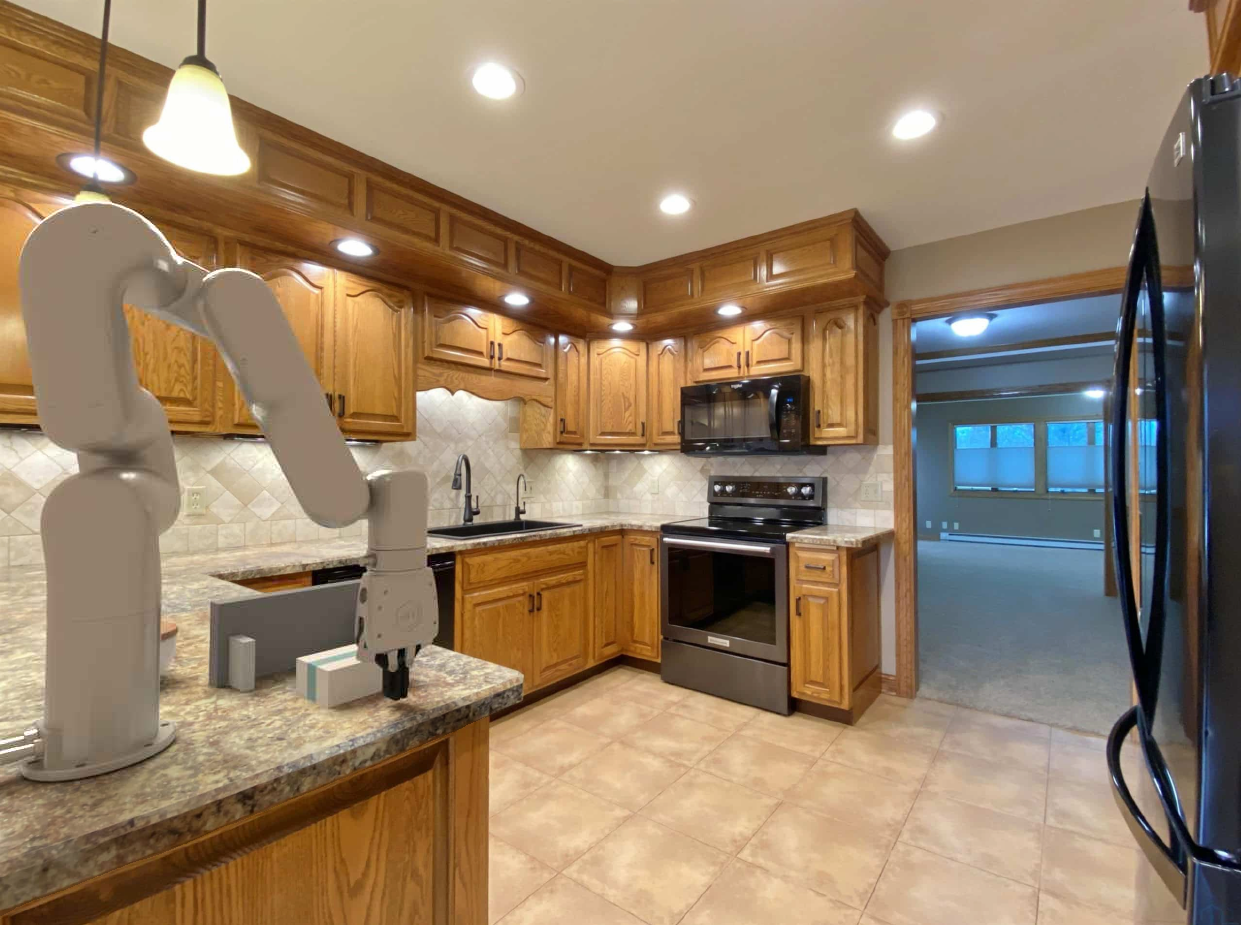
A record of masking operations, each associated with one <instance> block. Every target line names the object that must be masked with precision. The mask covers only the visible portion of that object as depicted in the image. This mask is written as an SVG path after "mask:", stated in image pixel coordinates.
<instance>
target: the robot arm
mask: <svg viewBox="0 0 1241 925" xmlns="http://www.w3.org/2000/svg"><path fill="white" fill-rule="evenodd" d="M17 284H18V285H17V286H18V288H17V289H18V295H19V302H20V308H21V313H22V319H23V323H24V331H25V336H26V345H27V346H26V347H27V348H26V349H27V356H28V360H29V362H28V363H29V366H30V375H31V379H32V380H31V381H32V386H33V391H34V398H35V407H36V414H37V420H38V425H39V428H40V429H41V430H42V432H43V435H44V436H45V437H46V438H47V439H48V440H49V441H50V442H51V444H52V443H53V444H54V445H55V446H56V447H58V448H60V449H62V450H65V451H68V452H71V453H74V454H75V455H76V459H77V466H78V470H79V472H77V473H75V474H72V475H70V476H67V477H66V478H65V479H63V480H62V481H60V483H59V484H57V485H56V486H55V487H54V488H53V489H52V490H51V491H50V493H49V495H48V496H47V498H46V499H45V501H44V503H43V505H42V506H43V507H42V509H41V513H40V519H39V520H40V521H39V522H40V524H39V525H40V526H39V530H40V531H39V532H40V538H41V543H42V544H41V545H42V550H43V557H44V563H45V564H44V565H45V580H46V604H45V605H46V606H45V608H46V610H45V611H46V612H45V613H46V614H45V619H46V628H45V629H46V631H45V633H46V635H45V638H46V639H45V668H44V670H45V672H44V699H43V700H44V701H43V702H44V703H43V704H44V705H43V706H44V708H43V709H44V710H43V718H39V719H36V720H34V728H32V729H29V730H23V731H22V733H21V735H20V736H16V737H12V738H8V739H0V767H3V766H5V765H10V764H13V763H17V762H19V761H21V766H20V767H21V768H20V769H21V770H20V771H21V775H22V776H23V777H24V778H26V779H29V780H31V781H39V782H61V781H70V780H78V779H83V778H88V777H94V776H97V775H102V774H106V773H109V772H112V771H116V770H119V769H123V768H126V767H129V766H132V765H133V764H136V763H139V762H141V761H144V760H147V758H150V757H152V756H154V755H156V754H158V753H159V752H161V751H163V750H164V749H166V748H167V747H169V745H171V743H172V742H173V741H174V740H175V738H176V730H177V728H176V725H175V723H173V722H172V721H170V720H167V719H162V718H160V693H161V688H160V687H161V676H160V656H161V622H162V607H163V605H162V593H163V592H162V591H163V590H162V587H163V586H162V585H163V582H162V580H163V579H162V562H161V552H160V551H161V550H160V537H161V536H162V535H163V534H164V533H167V531H168V530H170V529H171V527H173V525H174V524H175V522H176V521H177V520H178V519H177V518H178V517H179V515H180V511H181V507H182V500H181V499H182V498H181V497H182V496H181V489H180V481H179V476H178V469H177V464H176V457H175V451H174V445H173V438H172V433H171V427H170V422H169V419H168V416H167V413H166V411H165V409H164V407H163V405H162V404H161V402H160V400H158V399H157V397H155V396H154V395H153V394H152V393H151V392H150V391H148V390H147V389H146V388H144V387H142V386H141V384H140V381H139V377H138V373H137V368H136V365H135V358H134V354H133V341H132V337H131V331H130V328H129V324H128V321H127V317H126V315H125V314H126V312H125V310H124V309H125V308H124V303H125V304H127V305H130V306H132V307H133V308H135V309H137V310H139V311H141V312H144V313H146V314H147V315H150V316H153V317H155V318H158V319H161V320H162V321H166V322H167V323H170V324H172V325H174V326H177V327H179V328H181V329H183V330H186V331H188V332H190V333H193V334H195V335H197V336H200V337H202V338H205V339H207V340H210V341H211V342H213V344H214V345H215V346H214V347H215V348H216V351H218V353H219V354H220V357H221V358H222V361H223V362H224V364H225V367H226V368H227V370H228V371H229V374H230V375H231V376H230V377H231V378H232V379H233V382H234V383H235V385H236V387H237V389H238V391H239V393H240V395H241V397H242V399H243V401H244V404H245V405H246V407H247V408H248V411H249V414H250V415H251V417H252V419H253V420H254V422H255V424H256V425H257V426H258V429H260V430H261V433H262V435H263V437H264V438H265V439H266V442H267V444H268V446H269V447H270V449H271V452H272V454H273V456H274V458H275V460H276V461H277V464H278V465H279V468H280V469H281V471H282V472H283V474H284V478H286V480H287V483H288V485H289V486H290V488H291V490H292V492H293V494H294V496H295V497H296V499H297V501H298V504H299V505H300V507H301V509H302V511H303V513H304V514H305V516H307V518H309V520H310V521H311V522H312V523H315V524H316V525H318V526H320V527H323V528H326V529H333V530H334V529H343V528H346V527H350V526H352V525H354V524H356V523H358V521H362V520H367V549H366V554H365V555H361V556H359V558H358V566H360V567H365V569H366V572H363V573H362V577H361V579H362V580H361V584H360V588H359V593H358V599H357V606H356V616H355V643H356V645H357V646H358V650H357V654H356V660H358V661H360V662H363V663H364V662H375V663H376V664H377V665H378V666H379V667H380V668H382V669H383V670H382V691H381V692H383V697H384V698H386V699H389V700H391V701H394V702H397V701H400V700H401V699H407V698H408V695H409V694H408V693H409V687H410V668H411V667H412V666H413V665H414V661H415V658H416V656H417V655H418V654H419V652H420V651H421V650H424V648H427V647H428V646H430V645H431V644H433V642H434V639H435V638H436V637H437V635H438V633H439V605H438V593H437V586H436V585H437V584H436V579H435V575H434V572H433V568H432V567H429V566H428V518H429V516H428V511H429V510H428V508H429V507H428V506H429V505H428V504H429V502H428V500H429V481H428V477H427V474H426V473H425V472H423V471H421V470H417V469H380V470H376V471H369V470H367V471H366V470H361V469H360V467H359V465H358V463H357V460H356V458H355V457H354V455H353V453H352V451H351V450H350V449H351V448H350V447H349V445H348V443H347V441H346V439H345V437H344V435H343V432H342V431H341V429H340V428H339V425H338V424H337V421H336V419H335V417H334V415H333V413H332V411H331V409H330V406H329V404H328V401H327V398H326V397H327V396H326V394H325V392H324V390H323V388H322V386H321V383H320V381H319V379H318V378H317V375H316V373H315V372H314V370H313V367H312V365H311V363H310V362H309V359H308V358H307V355H306V354H305V352H304V350H303V348H302V346H301V344H300V342H299V340H298V338H297V336H296V334H295V332H294V330H293V328H292V326H291V323H290V322H289V320H288V318H287V316H286V314H285V312H284V310H283V307H282V306H281V304H280V302H279V300H278V297H277V295H275V293H274V291H273V289H271V287H270V286H269V285H268V283H266V282H265V280H263V278H261V277H260V276H258V275H257V274H255V273H253V272H250V271H248V270H245V269H241V268H225V269H223V268H222V269H219V270H215V271H213V272H211V271H209V270H208V269H205V268H203V267H202V266H199V265H197V264H196V263H193V262H191V261H189V260H186V259H185V258H183V257H181V256H179V255H178V254H177V253H176V251H175V250H174V249H173V247H172V246H171V244H170V243H169V242H168V241H167V239H166V238H165V236H164V235H163V233H162V232H161V231H159V229H158V228H157V227H156V226H155V225H154V224H153V223H151V222H150V221H149V220H148V219H146V218H145V217H144V216H142V215H141V214H139V213H138V212H136V211H134V210H132V209H130V208H127V207H125V206H123V205H120V204H116V203H112V202H105V201H89V202H82V203H81V202H80V203H76V204H72V205H69V206H67V207H64V208H62V209H59V210H57V211H55V212H54V213H52V214H50V215H49V216H47V217H45V218H44V219H43V220H42V221H41V222H39V223H38V224H37V226H35V228H34V229H33V230H32V231H31V232H30V234H29V235H28V237H27V238H26V240H25V242H24V244H23V246H22V249H21V252H20V255H19V258H18V267H17Z"/></svg>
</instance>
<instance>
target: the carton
mask: <svg viewBox="0 0 1241 925" xmlns="http://www.w3.org/2000/svg"><path fill="white" fill-rule="evenodd" d="M357 650H358V646H357V645H356V644H353V645H349V646H345V647H341V648H337V649H333V650H328V651H324V652H320V653H316V654H312V655H308V656H304V657H300V658H296V667H295V669H296V670H295V673H296V674H295V694H298V695H299V696H302V697H304V698H306V699H308V700H309V701H312V702H314V703H316V704H318V705H320V706H322V707H324V708H327V709H331V708H333V707H336V706H339V705H342V704H346V703H348V702H351V701H355V700H358V699H361V698H364V697H367V696H370V695H373V694H376V693H379V692H383V691H382V670H383V669H382V668H380V667H379V666H378V665H377V664H376V663H375V662H364V663H363V662H360V661H358V660H356V654H357Z"/></svg>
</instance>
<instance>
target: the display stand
mask: <svg viewBox="0 0 1241 925" xmlns="http://www.w3.org/2000/svg"><path fill="white" fill-rule="evenodd" d="M361 580H362V578H359V579H358V578H357V579H353V580H344V581H338V582H333V583H332V582H331V583H325V584H317V585H312V586H306V587H305V586H304V587H298V588H293V589H284V590H279V591H272V592H265V593H257V594H251V595H243V596H238V597H232V598H224V599H218V600H217V599H216V600H211V601H210V607H209V611H210V612H209V613H210V614H209V650H208V651H209V652H208V653H209V654H208V656H209V658H208V684H210V685H211V686H213V687H215V688H219V687H224V686H230V687H232V688H234V689H236V690H238V691H240V692H242V693H245V692H250V691H253V690H255V683H256V682H255V679H256V678H259V677H263V676H267V675H270V674H275V673H279V672H283V671H286V670H290V669H293V668H294V669H296V658H300V657H304V656H308V655H312V654H316V653H320V652H324V651H328V650H333V649H337V648H341V647H345V646H349V645H353V644H356V643H355V616H356V606H357V599H358V593H359V588H360V584H361Z"/></svg>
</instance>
